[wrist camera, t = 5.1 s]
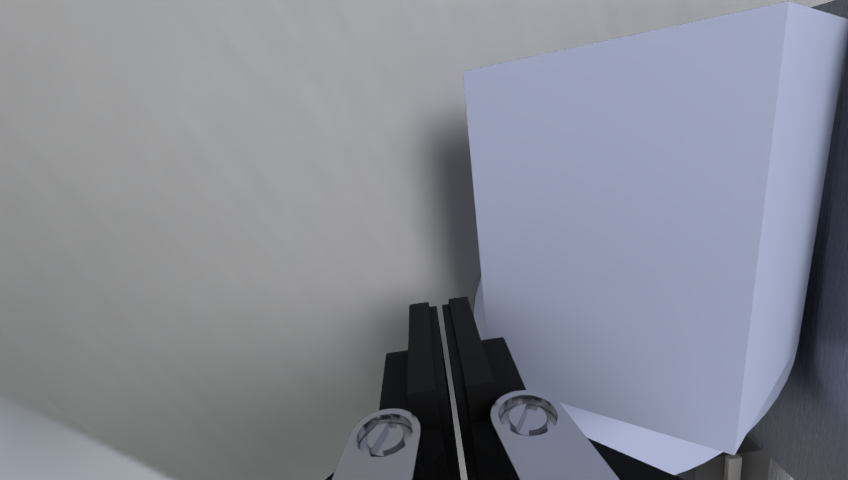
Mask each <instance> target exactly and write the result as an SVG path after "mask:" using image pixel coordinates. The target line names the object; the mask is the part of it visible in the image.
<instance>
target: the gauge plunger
mask: <svg viewBox="0 0 848 480" xmlns="http://www.w3.org/2000/svg"><path fill="white" fill-rule="evenodd" d="M811 8H813V9H816V10H819V11H823V12H826V13H829V14H833V15H836V16H840V17H843V18H846V19H848V0H835V1H831V2H828V3H825V4H821V5H818V6H815V7H811ZM746 435H747V436H748V437H749V438H750V439H751V440H752V441H753V442H754V443H755V444H756V445H757V446H758V447H759V448H761V449H762V450H763V451H764V452H765V453H766V454H767V455H768V456H769V457H770V464H769V473H768V480H848V37H847V43H846V50H845V56H844V62H843V68H842V75H841V81H840V87H839V93H838V100H837V106H836V112H835V118H834V125H833V131H832V137H831V143H830V149H829V156H828V162H827V168H826V174H825V181H824V187H823V193H822V199H821V206H820V212H819V218H818V224H817V231H816V237H815V243H814V249H813V255H812V262H811V268H810V274H809V280H808V287H807V293H806V299H805V305H804V312H803V318H802V324H801V330H800V337H799V343H798V347H797V351H796V356H795V360H794V363H793V366H792V368H791V371H790V374H789V376H788V379H787V381H786V383H785V385H784V386H783V388H782V390H781V392H780V394H779V396H778V397H777V399H776V400H775V401H774V403H773V404H772V406H771V407H770V408H769V410H768V411H767V413H766V414H765V415H764V416H763V417H762V418H761V419H760V421H759V422H758V423H757V424H756V425H755V426H754V427H753V428H752V429H751V430H750V431H749V432H748V433H747V434H746Z"/></svg>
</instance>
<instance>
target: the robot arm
mask: <svg viewBox="0 0 848 480" xmlns="http://www.w3.org/2000/svg"><path fill="white" fill-rule="evenodd" d="M442 309H443V316H444V323H445V330H446V337H447V344H448V351H449V357H450V364H451V371H452V378H453V385H454V392H455V399H456V405H457V412H458V418H459V425H460V431H461V438H462V444H463V451H464V457H465V464H466V470H467V477H468V480H684V479H681V478H679V477H677V476H674V475H672V474H670V473H667V472H665V471H663V470H661V469H658V468H656V467H654V466H651V465H649V464H647V463H645V462H642V461H640V460H638V459H635V458H633V457H631V456H628V455H626V454H624V453H622V452H619V451H617V450H615V449H612V448H610V447H608V446H605V445H603V444H601V443H599V442H596V441H594V440H592V439H589V438H587V437H586V436H585V435H584V433H583V432H582V431H581V429H580V428H579V427H578V426H577V424H576V423H575V422H574V421H573V419H572V418H571V417H570V415H569V414H568V413H567V412H566V410H565V409H564V408H563V406H562V405H561V404H560V403H559V402H558V401H556V400H555V399H554V398H552V397H550V396H549V395H547V394H544V393H541V392H537V391H530V390H526V388H525V386H524V383H523V381H522V379H521V376H520V374H519V372H518V369H517V367H516V365H515V362H514V360H513V358H512V355H511V353H510V351H509V348H508V346H507V344H506V341H505V339H504V338H503V337H499V338H492V339H485V340H481V338H480V335H479V332H478V329H477V326H476V323H475V319H474V316H473V313H472V310H471V307H470V304H469V300H468V297H460V298H454V299H449V304H447V305H442ZM326 480H461V478H460V470H459V463H458V455H457V447H456V440H455V432H454V425H453V417H452V409H451V402H450V394H449V387H448V381H447V374H446V367H445V361H444V354H443V347H442V341H441V334H440V327H439V320H438V314H437V307H436V306H433V307H429V303H428V302H425V303H418V304H411V305H410V308H409V342H408V350H407V351H400V352H393V353H387V355H386V361H385V369H384V377H383V384H382V392H381V400H380V408H379V411H377V412H374V413H371V414H370V415H368V416H367V417H365V418H363V419H362V420H361V421H360V422H359V423H358V424H357V425H356V426H355V427H354V428H353V430H352V432H351V433H350V435H349V438H348V440H347V443H346V445H345V448H344V450H343V453H342V455H341V458H340V460H339V463H338V465H337V468H336V470H335V472H334V473H333V474H332V475H330V476H329V477H328V478H327V479H326Z"/></svg>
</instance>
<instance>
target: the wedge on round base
mask: <svg viewBox="0 0 848 480" xmlns="http://www.w3.org/2000/svg"><path fill="white" fill-rule="evenodd" d="M847 37H848V19H846V18H843V17H840V16H836V15H833V14H829V13H826V12H823V11H819V10H816V9H813V8H809V7H806V6H803V5H799V4H796V3H793V2H789V1H788V2H783V3H779V4H774V5H769V6H765V7H760V8H755V9H751V10H746V11H741V12H737V13H732V14H727V15H723V16H718V17H713V18H709V19H704V20H699V21H695V22H690V23H685V24H681V25H676V26H671V27H667V28H662V29H657V30H653V31H648V32H643V33H639V34H634V35H629V36H625V37H620V38H615V39H611V40H606V41H601V42H597V43H592V44H587V45H583V46H578V47H573V48H569V49H564V50H559V51H555V52H550V53H545V54H541V55H536V56H531V57H527V58H522V59H517V60H513V61H508V62H503V63H499V64H494V65H489V66H485V67H480V68H475V69H471V70H466V71H463V80H464V91H465V102H466V112H467V123H468V134H469V145H470V156H471V167H472V178H473V189H474V200H475V211H476V222H477V233H478V244H479V255H480V266H481V279H480V282H479V285H478V289H477V293H476V297H475V305H474V319H475V323H476V326H477V329H478V332H479V335H480V338H481V340H485V339H492V338H499V337H503V338H504V339H505V341H506V344H507V346H508V348H509V351H510V353H511V355H512V358H513V360H514V362H515V365H516V367H517V369H518V372H519V374H520V376H521V379H522V381H523V383H524V386H525V388H526V390H530V391H537V392H541V393H544V394H547V395H549V396H550V397H552V398H554V399H555V400H556V401H558V402H559V403H560V404H561V405H562V406H563V408H564V409H565V410H566V412H567V413H568V414H569V415H570V417H571V418H572V419H573V421H574V422H575V423H576V424H577V426H578V427H579V428H580V429H581V431H582V432H583V433H584V435H585V436H586V437H587V438H589V439H592V440H594V441H596V442H599V443H601V444H603V445H605V446H608V447H610V448H612V449H615V450H617V451H619V452H622V453H624V454H626V455H628V456H631V457H633V458H635V459H638V460H640V461H642V462H645V463H647V464H649V465H651V466H654V467H656V468H658V469H661V470H663V471H665V472H667V473H670V474H672V475H676V474H679V473H682V472H685V471H687V470H690V469H692V468H694V467H696V466H698V465H701V464H703V463H705V462H707V461H708V460H710V459H712V458H714V457H715V456H717V455H719V454H721V453H722V452H725V453H728V454H732V455H735V453H736V452H737V450H738V448H739V446H740V445H741V443H742V441H743V439H744V438H745V436H746V434H747V433H748V432H749V431H750V430H751V429H752V428H753V427H754V426H755V425H756V424H757V423H758V422H759V421H760V419H761V418H762V417H763V416H764V415H765V414H766V413H767V411H768V410H769V408H770V407H771V406H772V404H773V403H774V401H775V400H776V399H777V397H778V396H779V394H780V392H781V390H782V388H783V386H784V385H785V383H786V381H787V379H788V376H789V374H790V371H791V368H792V366H793V363H794V360H795V356H796V351H797V347H798V343H799V337H800V330H801V324H802V318H803V312H804V305H805V299H806V293H807V287H808V280H809V274H810V268H811V262H812V255H813V249H814V243H815V237H816V231H817V224H818V218H819V212H820V206H821V199H822V193H823V187H824V181H825V174H826V168H827V162H828V156H829V149H830V143H831V137H832V131H833V125H834V118H835V112H836V106H837V100H838V93H839V87H840V81H841V75H842V68H843V62H844V56H845V50H846V43H847Z"/></svg>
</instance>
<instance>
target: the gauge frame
mask: <svg viewBox="0 0 848 480" xmlns="http://www.w3.org/2000/svg"><path fill="white" fill-rule="evenodd" d="M769 464H770V457H769V456H768V455H767V454H766V453H765V452H764V451H763V450H762V449H761V448H759V447H758V446H757V445H756V444H755V443H754V442H753V441H752V440H751V439H750V438H749V437H748V436H747V435H746V436H745V438H744V439H743V441H742V443H741V445H740V446H739V448H738V450H737V452H736V453H735V455H732V454H728V453H725V452H722V453H721V454H719V455H717V456H715V457H714V458H712V459H710V460H708V461H707V462H705V463H703V464H701V465H698V466H696V467H694V468H692V469H690V470H687V471H685V472H682V473H679V478H681V479H684V480H768V473H769Z"/></svg>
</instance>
